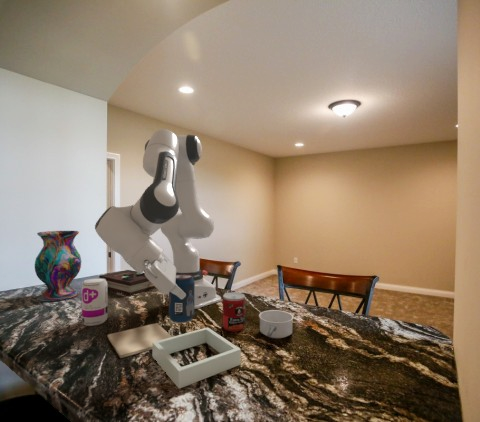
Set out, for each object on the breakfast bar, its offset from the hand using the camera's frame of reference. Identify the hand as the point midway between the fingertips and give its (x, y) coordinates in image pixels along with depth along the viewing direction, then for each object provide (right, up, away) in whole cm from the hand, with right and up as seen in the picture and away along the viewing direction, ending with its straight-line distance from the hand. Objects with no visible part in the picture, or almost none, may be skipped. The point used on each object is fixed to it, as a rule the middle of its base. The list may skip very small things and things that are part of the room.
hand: (184, 292), depth 79 cm
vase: (-69, -18, +54) cm, 89 cm away
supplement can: (-37, -18, +24) cm, 48 cm away
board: (-15, -18, +10) cm, 26 cm away
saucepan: (+26, -18, +12) cm, 34 cm away
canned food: (+13, -18, +20) cm, 30 cm away
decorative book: (-42, -18, +69) cm, 83 cm away
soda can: (-1, -8, 0) cm, 8 cm away
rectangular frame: (+3, -18, -2) cm, 18 cm away
